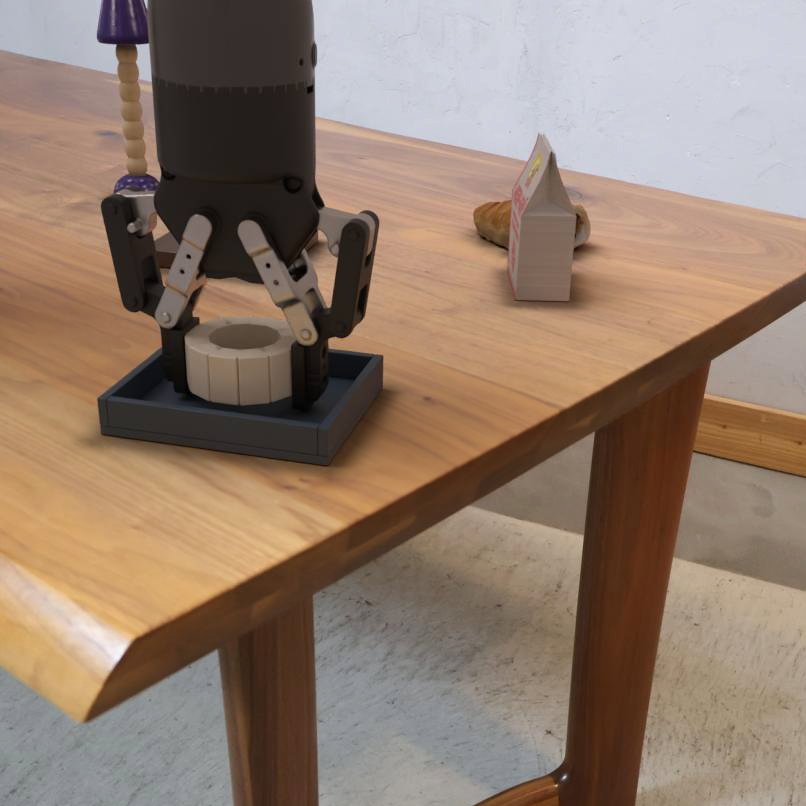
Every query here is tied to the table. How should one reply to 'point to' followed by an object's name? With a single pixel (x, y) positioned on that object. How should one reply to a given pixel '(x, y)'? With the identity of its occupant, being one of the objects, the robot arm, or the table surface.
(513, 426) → the table surface
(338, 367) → the tray
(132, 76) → the toy lamp
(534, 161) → the milk carton
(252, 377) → the ring
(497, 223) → the pastry
